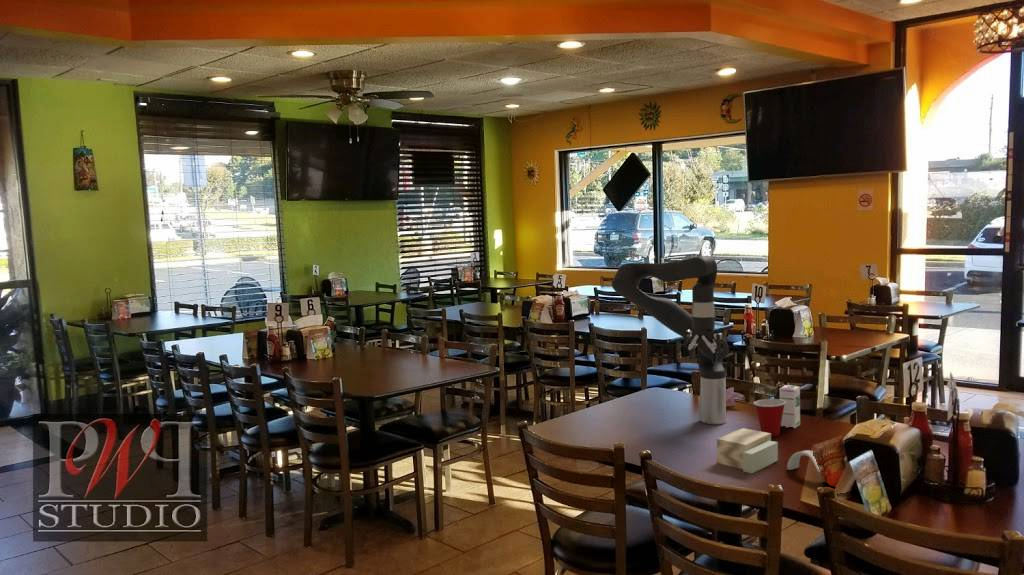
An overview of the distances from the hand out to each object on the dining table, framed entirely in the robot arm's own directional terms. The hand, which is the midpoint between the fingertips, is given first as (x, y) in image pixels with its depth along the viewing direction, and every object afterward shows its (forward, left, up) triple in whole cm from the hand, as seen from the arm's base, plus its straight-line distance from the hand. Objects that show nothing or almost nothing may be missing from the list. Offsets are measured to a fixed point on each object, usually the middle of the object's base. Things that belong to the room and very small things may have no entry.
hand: (703, 362), depth 261 cm
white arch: (+46, -9, -29) cm, 55 cm away
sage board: (+26, -10, -28) cm, 40 cm away
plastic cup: (+12, +23, -28) cm, 38 cm away
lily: (-20, +47, -28) cm, 58 cm away
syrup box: (+12, +38, -28) cm, 49 cm away
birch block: (+20, -8, -28) cm, 35 cm away
